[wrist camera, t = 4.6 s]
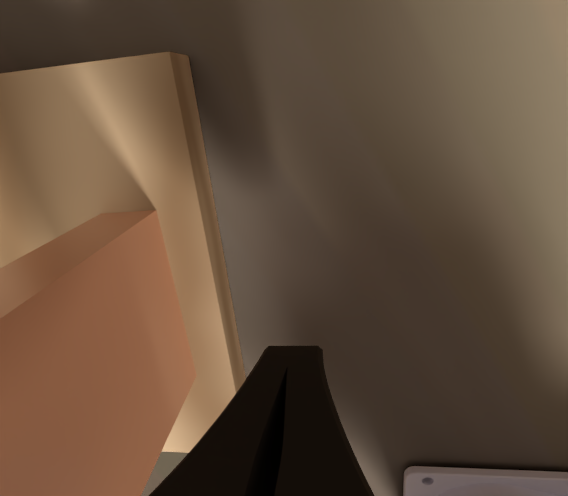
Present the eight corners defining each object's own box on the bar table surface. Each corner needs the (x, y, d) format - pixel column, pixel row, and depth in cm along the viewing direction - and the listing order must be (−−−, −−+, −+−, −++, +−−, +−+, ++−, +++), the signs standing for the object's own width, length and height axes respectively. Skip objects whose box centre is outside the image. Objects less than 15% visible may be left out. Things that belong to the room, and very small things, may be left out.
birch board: (188, 55, 12) (169, 51, 10) (254, 426, 18) (247, 454, 16) (-172, 101, 14) (-228, 103, 12) (0, 419, 20) (-24, 444, 18)
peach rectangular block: (156, 209, 12) (-106, 392, 5) (196, 375, 15) (67, 652, 8) (99, 213, 12) (-227, 391, 5) (149, 375, 15) (-20, 641, 8)
